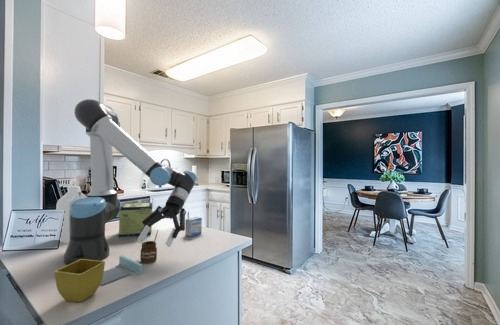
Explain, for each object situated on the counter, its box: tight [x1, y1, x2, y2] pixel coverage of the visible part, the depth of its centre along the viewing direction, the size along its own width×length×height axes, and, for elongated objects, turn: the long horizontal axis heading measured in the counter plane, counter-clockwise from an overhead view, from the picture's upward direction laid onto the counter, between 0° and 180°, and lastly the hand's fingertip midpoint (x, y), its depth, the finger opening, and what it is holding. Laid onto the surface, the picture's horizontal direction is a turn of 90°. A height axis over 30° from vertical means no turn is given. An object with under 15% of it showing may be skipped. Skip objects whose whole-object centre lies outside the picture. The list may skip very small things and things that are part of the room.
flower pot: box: [53, 259, 106, 303], centre depth 68 cm, size 9×9×9 cm
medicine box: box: [184, 216, 203, 237], centre depth 128 cm, size 8×4×9 cm, turn 146°
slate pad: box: [99, 266, 131, 287], centre depth 80 cm, size 9×9×1 cm
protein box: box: [118, 202, 153, 238], centre depth 127 cm, size 10×16×16 cm
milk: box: [55, 185, 88, 245], centre depth 117 cm, size 12×12×26 cm
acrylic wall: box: [118, 255, 144, 275], centre depth 86 cm, size 14×1×3 cm, turn 56°
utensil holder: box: [139, 229, 159, 264], centre depth 93 cm, size 6×6×12 cm
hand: (153, 243), depth 94 cm, fingers open, 13 cm apart
